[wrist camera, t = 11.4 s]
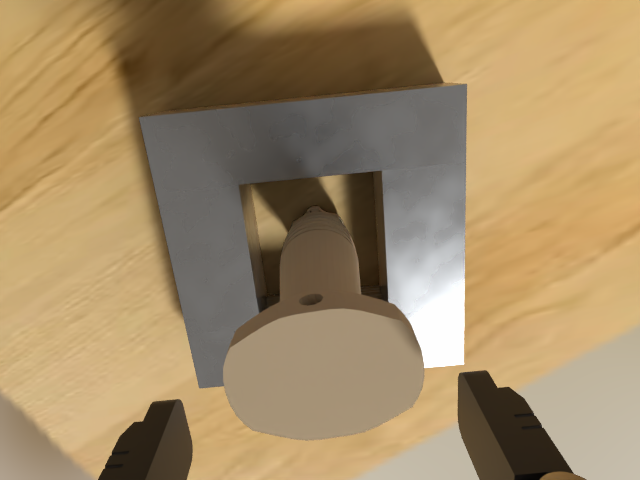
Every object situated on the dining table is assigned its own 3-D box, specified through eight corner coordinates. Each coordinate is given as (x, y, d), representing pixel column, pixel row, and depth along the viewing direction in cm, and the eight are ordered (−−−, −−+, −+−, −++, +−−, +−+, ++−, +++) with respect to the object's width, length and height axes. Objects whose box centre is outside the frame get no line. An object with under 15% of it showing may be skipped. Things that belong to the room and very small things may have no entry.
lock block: (163, 110, 26) (138, 117, 22) (444, 82, 26) (466, 84, 22) (212, 350, 32) (199, 388, 28) (445, 329, 31) (463, 364, 28)
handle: (373, 256, 29) (430, 423, 15) (274, 272, 30) (241, 450, 16) (363, 183, 28) (417, 295, 14) (259, 200, 28) (207, 328, 14)
